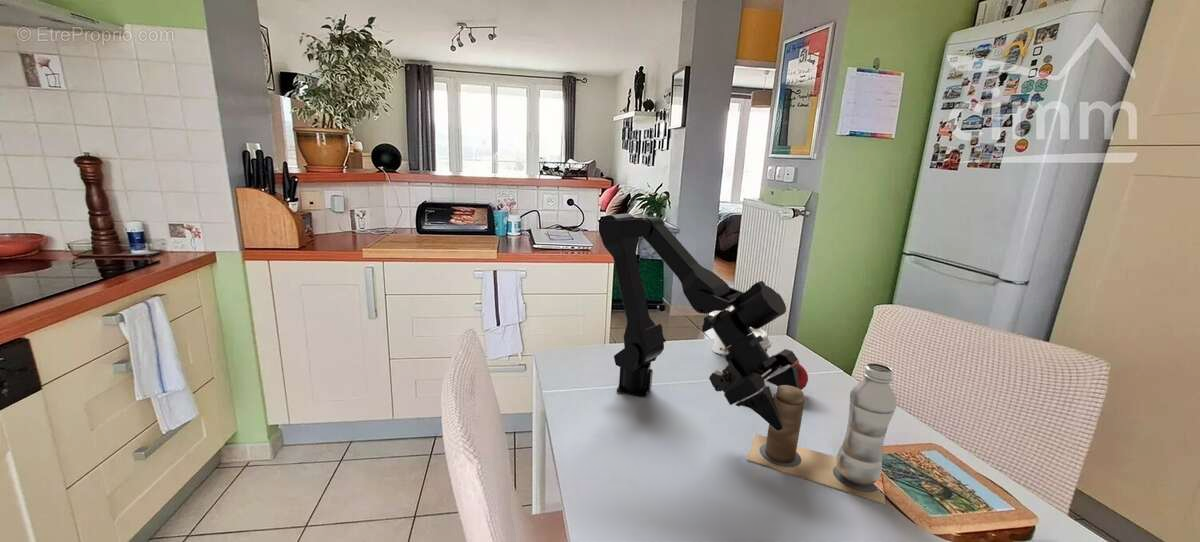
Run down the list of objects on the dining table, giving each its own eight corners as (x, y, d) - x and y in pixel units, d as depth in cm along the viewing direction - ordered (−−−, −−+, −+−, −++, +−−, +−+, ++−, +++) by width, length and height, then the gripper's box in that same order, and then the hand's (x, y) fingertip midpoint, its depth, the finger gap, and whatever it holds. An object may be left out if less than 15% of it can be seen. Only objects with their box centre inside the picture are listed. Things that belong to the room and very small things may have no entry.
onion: (807, 400, 103) (813, 367, 101) (780, 397, 104) (785, 363, 103) (802, 388, 109) (807, 356, 107) (776, 384, 110) (781, 353, 108)
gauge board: (746, 460, 82) (746, 459, 82) (755, 434, 90) (755, 433, 90) (885, 504, 73) (885, 503, 73) (881, 471, 81) (881, 470, 81)
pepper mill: (772, 463, 81) (783, 398, 78) (760, 446, 86) (769, 383, 83) (800, 463, 81) (811, 398, 78) (786, 445, 86) (796, 383, 83)
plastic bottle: (826, 465, 81) (846, 358, 76) (862, 465, 82) (885, 359, 77) (848, 491, 75) (871, 377, 70) (887, 491, 76) (914, 377, 71)
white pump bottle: (737, 348, 130) (743, 296, 126) (735, 358, 124) (742, 304, 120) (711, 344, 132) (717, 293, 128) (708, 353, 126) (714, 300, 122)
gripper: (730, 346, 97) (775, 415, 93) (682, 374, 84) (731, 456, 80) (773, 321, 90) (823, 394, 86) (727, 346, 77) (784, 435, 73)
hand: (790, 419), depth 81 cm, fingers open, 9 cm apart
